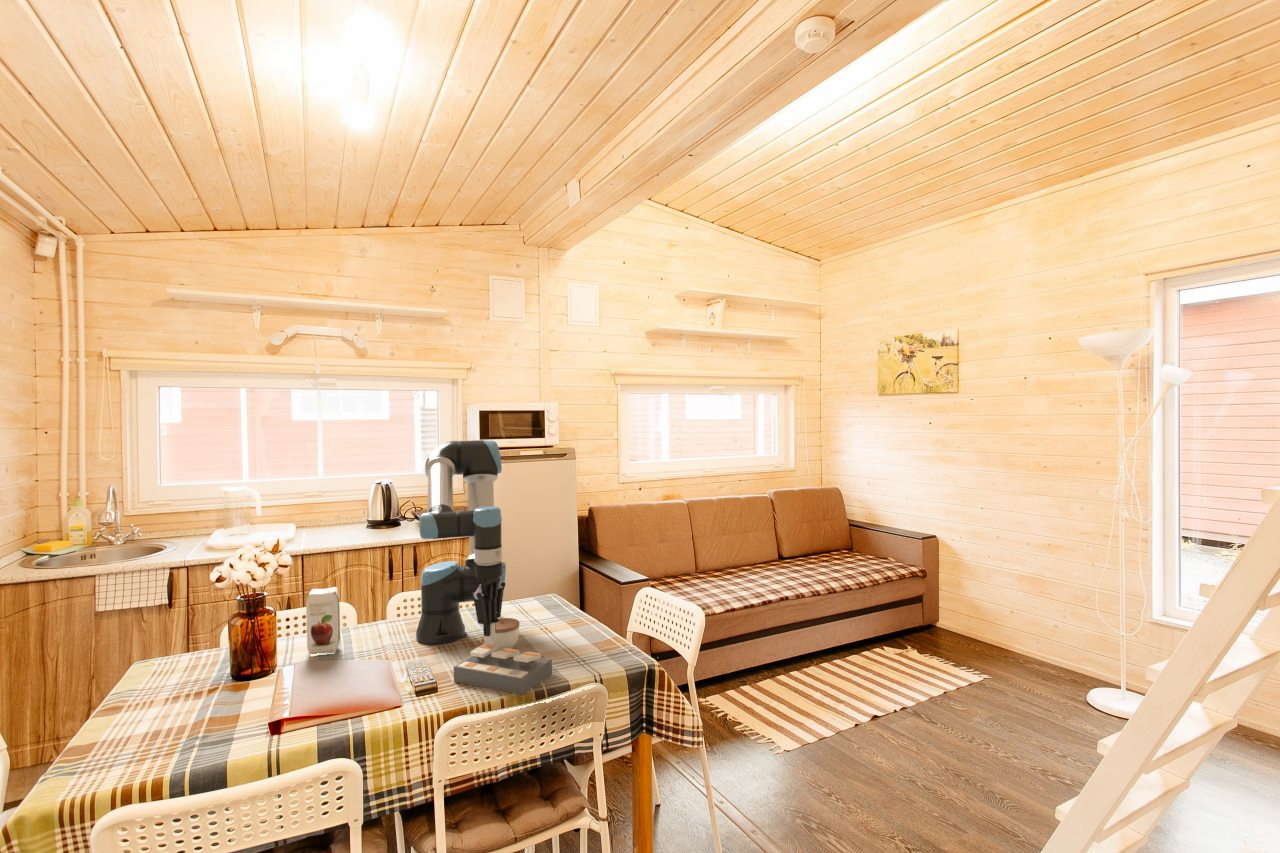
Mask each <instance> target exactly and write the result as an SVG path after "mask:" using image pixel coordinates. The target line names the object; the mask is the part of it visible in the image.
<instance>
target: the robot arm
mask: <svg viewBox="0 0 1280 853" xmlns="http://www.w3.org/2000/svg"><path fill="white" fill-rule="evenodd" d="M501 459H502V458H501V453H500V448H499V446H498V443H497V442H496V441H495V440H486V439H485V440H484V439H481V440H480V439H479V440H451V441H446V442H444V443H442V444H440V445H439V446H437V447H436V448H434V449H433V450H432V451H431V453H430V454H429V455H428V457H427V459H426V461H425V465H424V473H425V475H426V478H427V508H426V509H427V511H426V512H424V513H421V514H420V516H419V536H420V538H421V539H424V540H438V539H449V538H450V539H452V538H468V540H469V542H468V543H469V555H468V556H467V557H466V558H465V559H464V565H460V564H459V562H458V561H454V560H453V561H452V560H449V561H448V560H447V561H442V562H437V563H434V564H431V565H428V566H426V567H425V568H424V569H423V570H422V571H421V574H420V576H421V577H420V586H421V587H420V589H421V590H420V591H421V593H420V596H421V599H420V600H421V602H420V604H421V615H420V618H419V621H418V625H417V629H416V631H415V632H416V633H415V635H416V636H415V638H416V639H417V640H418V641H420V642H419V643H421V642H423V643H422V644H425V643H428V644H427V645H441V644H446V643H451V642H455V641H457V640H460V639H461V638H463V637H464V636H465V635H466V627H465V626H466V625H465V623H464V622H463V618H462V615H461V612H460V603H469V602H473V604H474V608H475V609H474V610H475V614H476V618H477V623H478V624H479V625H482V626H483V638H484V642H483V644H484V645H486V646H494V645H496V643H495V632H496V622H499V619H498V618H501V616H502V606H503V599H504V590H505V587H506V574H507V573H506V571H507V570H506V562H503V561H502V560H503V558H502V557H503V552H502V551H503V549H502V547H503V545H502V520H503V518H502V510H501V508H500V507H499V506H495V493H494V483H495V482H496V480H497V479H498V474H501V473H502V471H503V467H502V460H501ZM455 475H457V476H458V475H462V481H463V482H465V483H466V484H467V500H468V502H467V504H468V505H467V506H468V508H467V510H458V511H457V510H455V511H454V487H453V486H454V482H453V478H454V476H455ZM417 640H416V641H417ZM418 641H417V642H418ZM440 643H441V644H440Z"/></svg>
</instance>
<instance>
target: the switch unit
mask: <svg viewBox="0 0 1280 853" xmlns="http://www.w3.org/2000/svg"><path fill="white" fill-rule="evenodd" d="M494 652H496V650H495V651H494ZM492 653H493V652H492ZM492 653H490V654H489V655H487V656H485V657H484V658H481V657H475V656H470V657H468V658H467V659H465V660H464V661H462V662H459V663H457V665H455V666H453V682H454V683H458V684H463V685H468V684H469V686H474V687H479V688H480V687H481V688H486V689H491V690H494V691H502V692H506V691H507V692H506V693H511V692H515V693H514V694H517V693H518V695H526V694H527V693H528V692H530V691H531V690H532V689H534V688H535V687H536V686H537V684H538V685H539V684H541V683H542V682H543V681H545V680H546V679H547V678H548V677H550V676H551V675H552V674H553V659H552V658H546V657H541V658H539V659H536V660H534V661H531V662H528V663H527V662H520V661H514V660H513V659H514V656H513V657H510V658H507V659H502V658H496V657H491V655H492ZM520 654H521V653H519V655H520ZM516 656H517V655H516ZM550 674H551V675H550ZM549 675H550V676H549ZM546 677H547V678H546ZM545 678H546V679H545ZM542 680H543V681H542ZM541 681H542V682H541ZM534 686H535V687H534ZM533 687H534V688H533ZM531 688H532V689H531ZM530 689H531V690H530ZM529 690H530V691H529Z"/></svg>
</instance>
